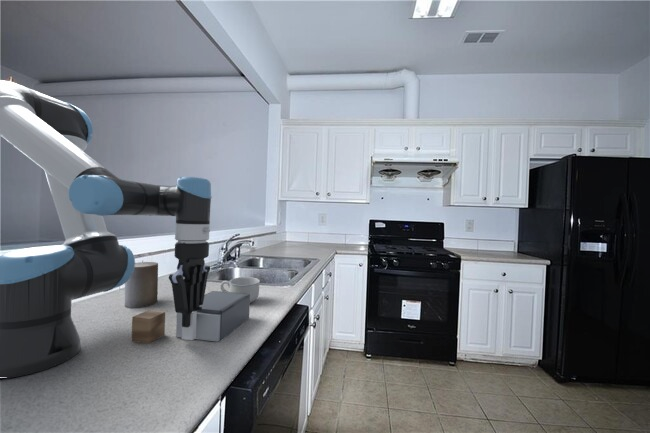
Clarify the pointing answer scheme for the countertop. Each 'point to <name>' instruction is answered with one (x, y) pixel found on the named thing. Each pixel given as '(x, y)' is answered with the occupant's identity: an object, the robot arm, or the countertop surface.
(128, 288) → the pillar candle
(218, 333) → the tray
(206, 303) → the drawer casing
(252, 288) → the teacup
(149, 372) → the countertop surface
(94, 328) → the countertop surface
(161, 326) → the walnut block
